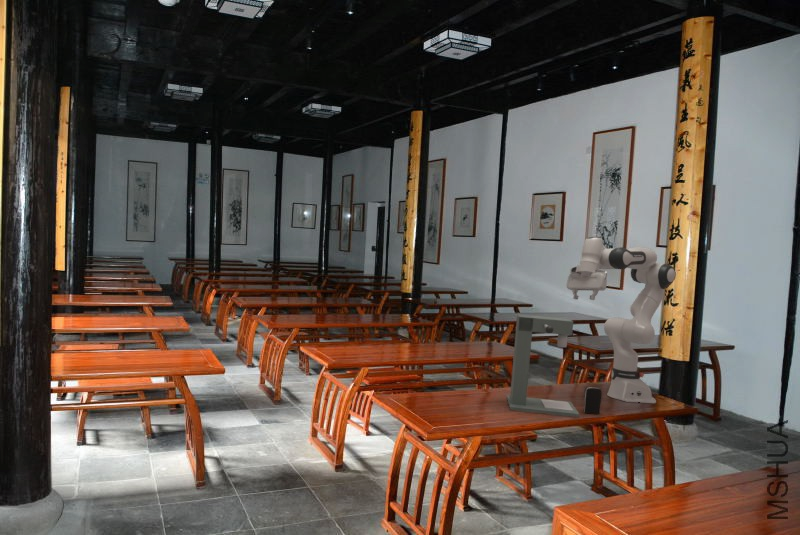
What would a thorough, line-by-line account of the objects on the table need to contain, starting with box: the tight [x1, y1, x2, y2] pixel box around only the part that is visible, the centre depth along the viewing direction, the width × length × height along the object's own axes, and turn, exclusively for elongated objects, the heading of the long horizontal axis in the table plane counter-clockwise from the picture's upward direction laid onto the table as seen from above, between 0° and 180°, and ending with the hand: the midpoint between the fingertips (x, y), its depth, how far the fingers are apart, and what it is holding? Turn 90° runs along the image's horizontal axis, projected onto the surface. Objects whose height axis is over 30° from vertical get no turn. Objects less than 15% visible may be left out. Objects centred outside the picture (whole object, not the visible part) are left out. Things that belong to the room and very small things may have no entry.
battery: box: [583, 386, 603, 415], centre depth 259 cm, size 7×4×11 cm, turn 91°
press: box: [506, 313, 580, 418], centre depth 257 cm, size 29×28×40 cm
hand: (583, 299), depth 269 cm, fingers open, 8 cm apart
